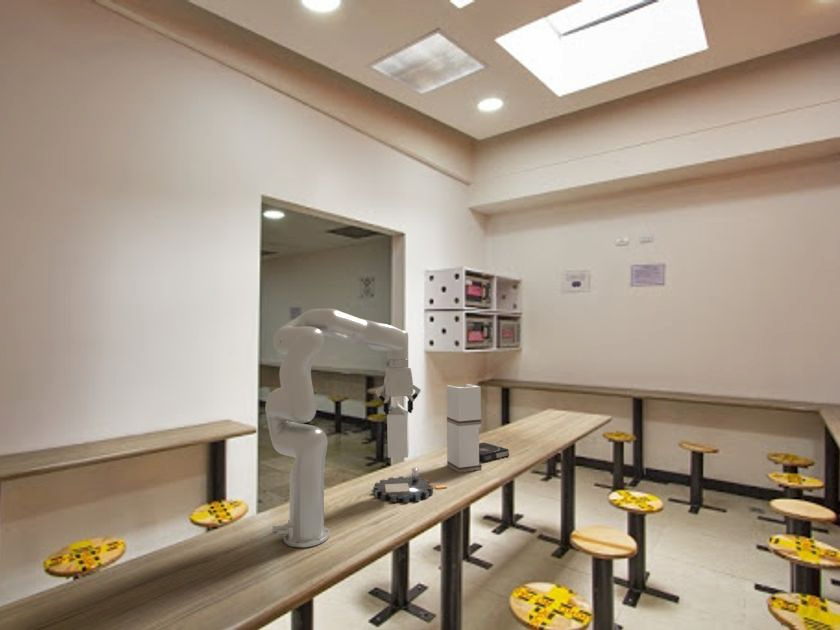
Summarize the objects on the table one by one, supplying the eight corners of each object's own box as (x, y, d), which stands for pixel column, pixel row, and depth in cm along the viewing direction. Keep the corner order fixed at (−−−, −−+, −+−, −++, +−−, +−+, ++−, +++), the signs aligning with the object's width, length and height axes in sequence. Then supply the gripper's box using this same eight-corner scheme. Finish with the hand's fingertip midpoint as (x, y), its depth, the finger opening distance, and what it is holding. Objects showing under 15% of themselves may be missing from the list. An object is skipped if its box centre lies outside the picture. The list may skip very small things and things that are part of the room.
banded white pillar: (481, 469, 192) (480, 386, 194) (459, 472, 188) (458, 387, 190) (468, 462, 203) (467, 384, 204) (447, 465, 199) (446, 385, 200)
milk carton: (409, 452, 166) (407, 400, 167) (407, 458, 159) (406, 403, 160) (389, 452, 167) (388, 400, 167) (387, 458, 160) (386, 404, 160)
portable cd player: (483, 464, 202) (483, 455, 202) (458, 455, 216) (458, 447, 216) (509, 458, 212) (509, 449, 212) (483, 450, 225) (483, 442, 226)
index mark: (436, 489, 168) (436, 487, 168) (434, 487, 170) (434, 486, 170) (446, 488, 170) (446, 486, 170) (444, 486, 171) (444, 485, 171)
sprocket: (360, 493, 164) (360, 475, 164) (400, 478, 181) (399, 461, 181) (407, 507, 150) (407, 487, 150) (445, 489, 167) (444, 471, 168)
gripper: (376, 365, 158) (376, 416, 157) (424, 364, 163) (424, 413, 163) (372, 364, 165) (372, 412, 165) (417, 363, 171) (418, 410, 170)
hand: (398, 412), depth 164 cm, fingers closed on milk carton, 8 cm apart
